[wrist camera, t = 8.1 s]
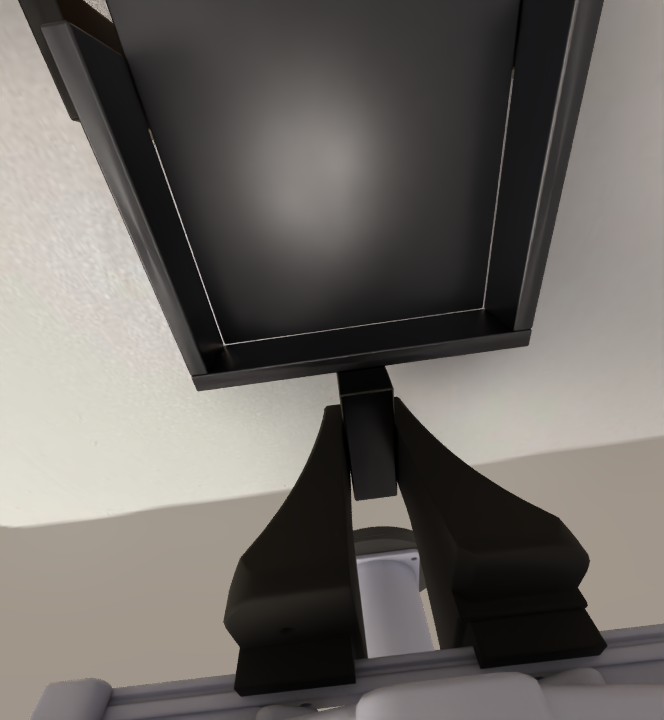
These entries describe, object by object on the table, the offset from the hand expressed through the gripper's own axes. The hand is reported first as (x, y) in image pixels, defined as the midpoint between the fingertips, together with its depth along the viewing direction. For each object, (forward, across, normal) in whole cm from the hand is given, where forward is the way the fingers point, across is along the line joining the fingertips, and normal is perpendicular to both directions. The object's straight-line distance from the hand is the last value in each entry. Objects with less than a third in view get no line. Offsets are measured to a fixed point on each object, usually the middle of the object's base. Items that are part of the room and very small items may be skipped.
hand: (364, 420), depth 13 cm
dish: (+1, 0, -5) cm, 6 cm away
